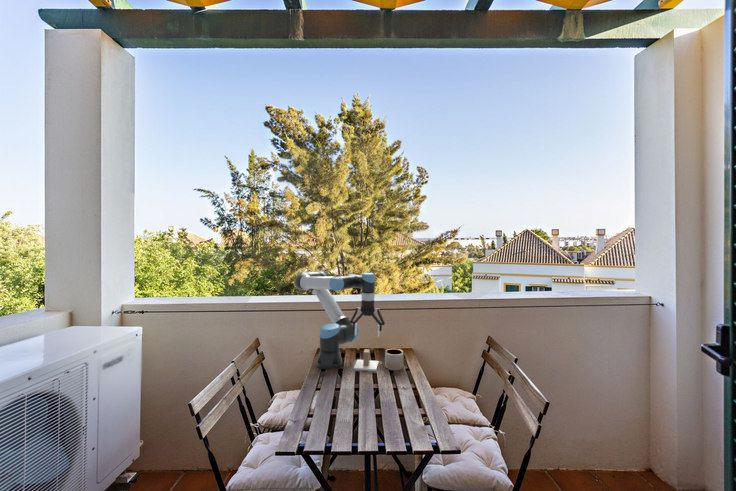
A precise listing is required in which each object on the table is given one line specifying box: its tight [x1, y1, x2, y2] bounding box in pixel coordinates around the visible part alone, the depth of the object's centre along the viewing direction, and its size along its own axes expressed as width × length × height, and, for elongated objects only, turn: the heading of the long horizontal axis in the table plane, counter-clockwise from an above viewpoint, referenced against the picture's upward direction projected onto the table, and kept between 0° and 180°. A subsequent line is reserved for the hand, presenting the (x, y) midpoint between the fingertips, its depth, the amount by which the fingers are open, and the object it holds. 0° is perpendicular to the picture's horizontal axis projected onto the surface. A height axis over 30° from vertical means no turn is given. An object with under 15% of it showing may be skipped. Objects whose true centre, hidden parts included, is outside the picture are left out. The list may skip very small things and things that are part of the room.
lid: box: [354, 348, 379, 371], centre depth 217 cm, size 13×13×9 cm
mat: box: [349, 359, 383, 374], centre depth 217 cm, size 17×17×1 cm
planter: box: [384, 348, 404, 371], centre depth 217 cm, size 11×11×10 cm
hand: (367, 335), depth 216 cm, fingers open, 13 cm apart
